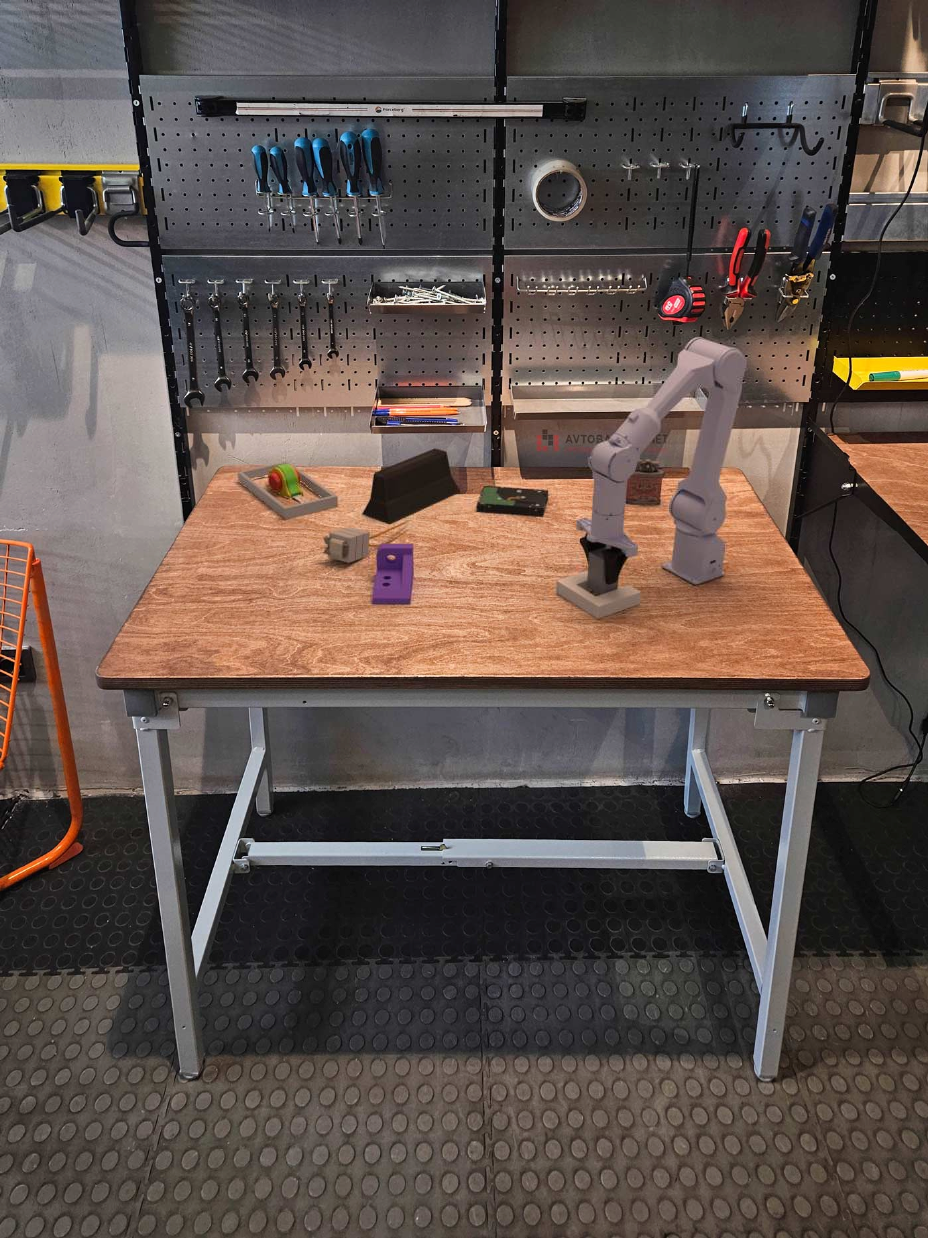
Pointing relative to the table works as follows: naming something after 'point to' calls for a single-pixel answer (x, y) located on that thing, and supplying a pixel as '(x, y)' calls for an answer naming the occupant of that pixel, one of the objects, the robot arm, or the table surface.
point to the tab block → (598, 573)
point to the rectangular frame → (324, 503)
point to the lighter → (645, 484)
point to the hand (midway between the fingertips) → (603, 578)
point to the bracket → (394, 574)
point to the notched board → (596, 605)
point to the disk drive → (512, 501)
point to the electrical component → (352, 543)
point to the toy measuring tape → (286, 481)
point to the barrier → (410, 487)
